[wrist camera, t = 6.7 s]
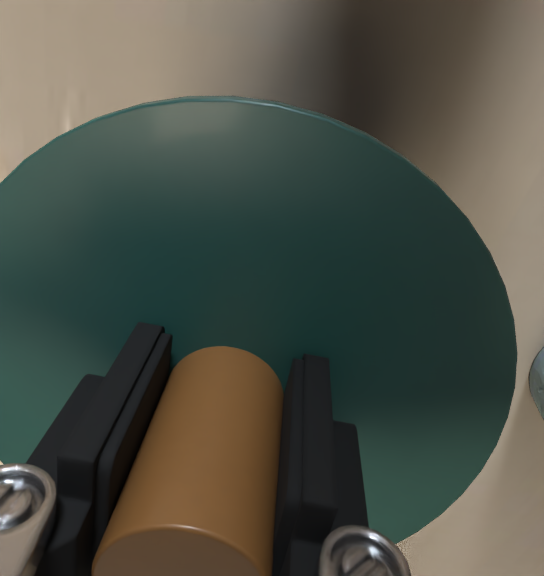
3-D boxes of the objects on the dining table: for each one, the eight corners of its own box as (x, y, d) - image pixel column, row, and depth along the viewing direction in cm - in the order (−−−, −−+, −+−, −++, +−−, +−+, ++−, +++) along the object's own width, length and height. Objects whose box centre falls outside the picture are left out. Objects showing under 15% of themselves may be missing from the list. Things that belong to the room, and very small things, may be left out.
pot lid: (-9, 499, 15) (-170, 732, 10) (-48, 31, 9) (-453, 20, 4) (407, 575, 15) (455, 839, 10) (600, 163, 10) (909, 293, 5)
